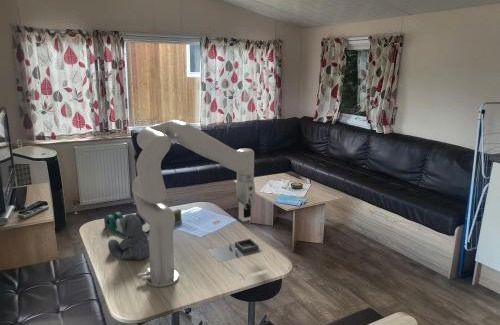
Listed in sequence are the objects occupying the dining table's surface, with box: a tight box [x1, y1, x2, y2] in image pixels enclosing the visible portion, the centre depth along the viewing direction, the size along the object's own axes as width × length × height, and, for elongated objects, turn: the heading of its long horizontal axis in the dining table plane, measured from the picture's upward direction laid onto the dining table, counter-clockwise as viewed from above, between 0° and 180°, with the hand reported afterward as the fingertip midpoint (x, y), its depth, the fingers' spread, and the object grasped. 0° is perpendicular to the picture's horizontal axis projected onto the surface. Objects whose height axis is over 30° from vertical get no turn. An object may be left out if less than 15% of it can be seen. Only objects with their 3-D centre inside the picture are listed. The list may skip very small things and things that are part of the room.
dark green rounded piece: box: [103, 211, 126, 238], centre depth 197 cm, size 18×7×8 cm, turn 53°
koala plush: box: [107, 211, 149, 261], centre depth 173 cm, size 17×18×20 cm
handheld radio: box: [145, 208, 182, 235], centre depth 202 cm, size 7×3×25 cm
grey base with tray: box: [207, 238, 263, 263], centre depth 179 cm, size 22×12×4 cm, turn 120°
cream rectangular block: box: [238, 201, 252, 222], centre depth 176 cm, size 4×4×8 cm
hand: (244, 214), depth 177 cm, fingers closed on cream rectangular block, 4 cm apart
